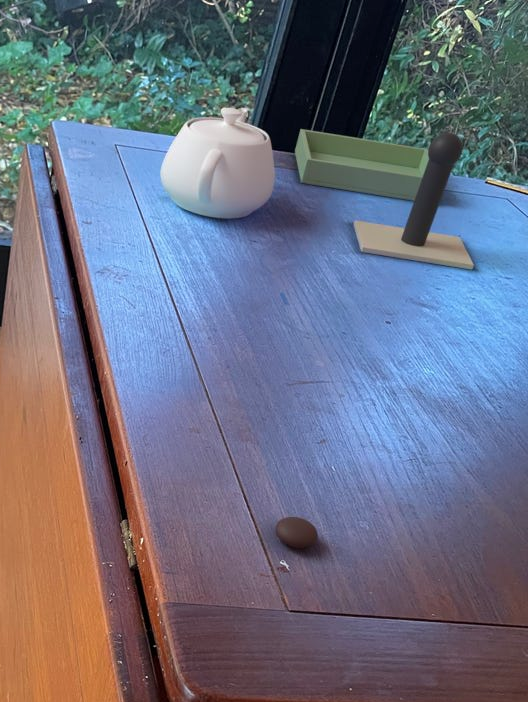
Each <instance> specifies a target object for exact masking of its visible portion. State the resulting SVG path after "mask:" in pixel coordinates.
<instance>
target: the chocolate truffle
mask: <svg viewBox="0 0 528 702" xmlns="http://www.w3.org/2000/svg"><path fill="white" fill-rule="evenodd" d="M274 531H275V535H276V537H277V538H278V540H279V541H280V542H282V543H283V544H284V545H286V546H288V547H291V548H296V549H305V548H308V547H311V546H313V545H314V544H316V542H317V540H318V530H317V529H316V527H315V526H314V524H312V523H311V522H310V521H309V520H307V519H304V518H303V517H298V516H287V517H284V518H281V519H280V520H279V521H278V522H277V523H276V525H275V529H274Z"/></svg>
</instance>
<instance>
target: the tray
mask: <svg viewBox="0 0 528 702" xmlns="http://www.w3.org/2000/svg"><path fill="white" fill-rule="evenodd" d="M428 150H429V148H421V147H417V146H410V145H404V144H397V143H391V142H386V141H378V140H372V139H365V138H361V137H354V136H348V135H341V134H334V133H328V132H323V131H317V130H316V131H315V130H310V129H303V128H300V130H299V133H298V138H297V141H296V146H295V148H294V155H295V159H296V164H297V169H298V173H299V179H300V183H301V184H306V185H313V186H317V187H318V186H319V187H325V188H330V189H331V188H332V189H338V190H342V191H343V190H344V191H350V192H356V193H362V194H369V195H374V196H381V197H387V198H393V199H400V200H406V201H411V202H412V201H413V202H414V200H415V197H416V195H417V192H418V189H419V186H420V183H421V180H422V177H423V174H424V172H425V169H426V166H427V163H428V160H429V157H428Z"/></svg>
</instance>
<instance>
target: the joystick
mask: <svg viewBox="0 0 528 702" xmlns="http://www.w3.org/2000/svg"><path fill="white" fill-rule="evenodd" d="M463 146H464V145H463V142H462V140H461V138H460V137H459V136H458V135H457V134H455V133H453V132H443V133H440V134H438V135H437V136H436V137H434V139H433V140H432V141H431V142H430V144H429V146H428V157H429V160H428V163H427V166H426V169H425V172H424V174H423V177H422V180H421V183H420V186H419V189H418V192H417V195H416V197H415V200H414V201H413V202H412V206H411V209H410V212H409V215H408V217H407V220H406V224H405V227H400V226H393V225H389V224H388V225H387V224H382V223H376V222H370V221H369V222H368V221H362V220H357V219H355V220H354V221H353V228H354V229H353V230H354V232H355V235H356V238H357V242H358V245H359V249H360V252H361V253H365V254H372V255H377V256H384V257H389V258H390V257H391V258H397V259H402V260H403V259H404V260H409V261H416V262H421V263H422V262H423V263H428V264H434V265H441V266H446V267H452V268H458V269H465V270H470V271H471V270H473V269H474V266H475V265H474V262H473V260H472V258H471V256H470V254H469V252H468V251H467V248H466V246H465V245H464V242H463V240H462V238H461V237H460V236H456V235H451V234H450V235H449V234H444V233H437V232H431V228H432V226H433V223H434V220H435V217H436V214H437V211H438V209H439V206H440V204H441V200H442V198H443V196H444V193H445V190H446V187H447V185H448V182H449V180H450V176H451V173H452V170H453V168H454V166H455V164H456V163H458V162H459V160H460V159H461V157H462V155H463V150H464V149H463Z"/></svg>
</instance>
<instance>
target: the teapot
mask: <svg viewBox="0 0 528 702" xmlns="http://www.w3.org/2000/svg"><path fill="white" fill-rule="evenodd" d="M220 114H221V116H222V117H223V118H222V117H212V116H208V117H207V116H206V117H205V116H204V117H201V116H200V117H196V118H195V117H194V118H191V119H188V120H187V121H186V122H185V123H184V124H183V126H182V127H181V129H180V130H179V131H178V134H177V135H176V136H175V138H174V139H173V141H172V143H171V144H170V146H169V148H168V150H167V152H166V154H165V156H164V158H163V160H162V164H161V167H160V173H159V175H160V180H161V184H162V187H163V189H164V190H165V192H166V193H167V194H168V196H169V197H170V199H171V201H172V202H173V203H174V204H175V205H176V206H178V207H179V208H181V209H183V210H186V211H188V212H191V213H194V214H196V215H200V216H204V217H209V218H216V219H239V218H240V219H241V218H244V217H247V216H249V215H251V214H252V213H253V212H255V211H256V210H258V209H260V208H262V207H263V206H264V205H265V204H266V203H267V202H268V201H269V199H270V198H271V197H272V195H273V192H274V186H275V177H276V173H275V172H276V171H275V160H274V153H273V147H272V142H271V138H270V136H269V134H268V133H267V132H266V131H265V130H263V129H261V128H259V127H257V126H255V125H252V124H249V123H246V119H247V116H248V109H247V108H246V107H240V108H238V109H237V108H234V107H221V109H220Z"/></svg>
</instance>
